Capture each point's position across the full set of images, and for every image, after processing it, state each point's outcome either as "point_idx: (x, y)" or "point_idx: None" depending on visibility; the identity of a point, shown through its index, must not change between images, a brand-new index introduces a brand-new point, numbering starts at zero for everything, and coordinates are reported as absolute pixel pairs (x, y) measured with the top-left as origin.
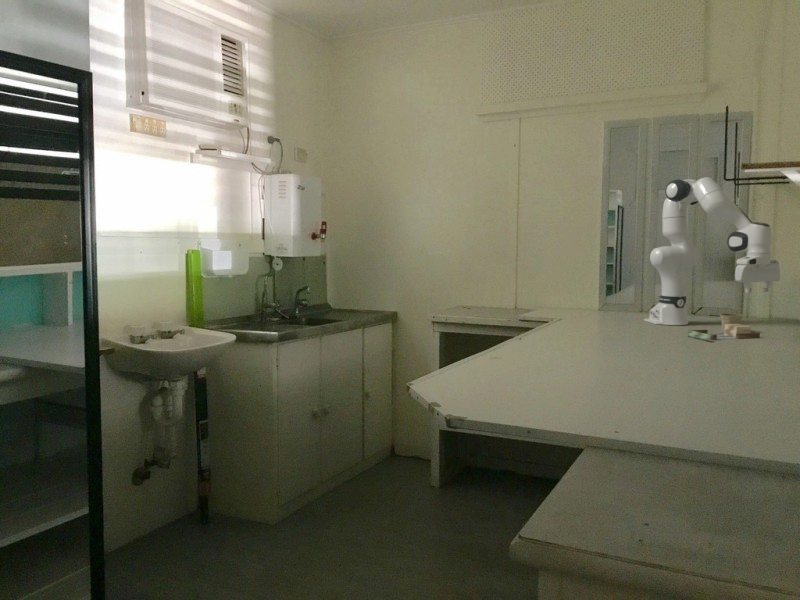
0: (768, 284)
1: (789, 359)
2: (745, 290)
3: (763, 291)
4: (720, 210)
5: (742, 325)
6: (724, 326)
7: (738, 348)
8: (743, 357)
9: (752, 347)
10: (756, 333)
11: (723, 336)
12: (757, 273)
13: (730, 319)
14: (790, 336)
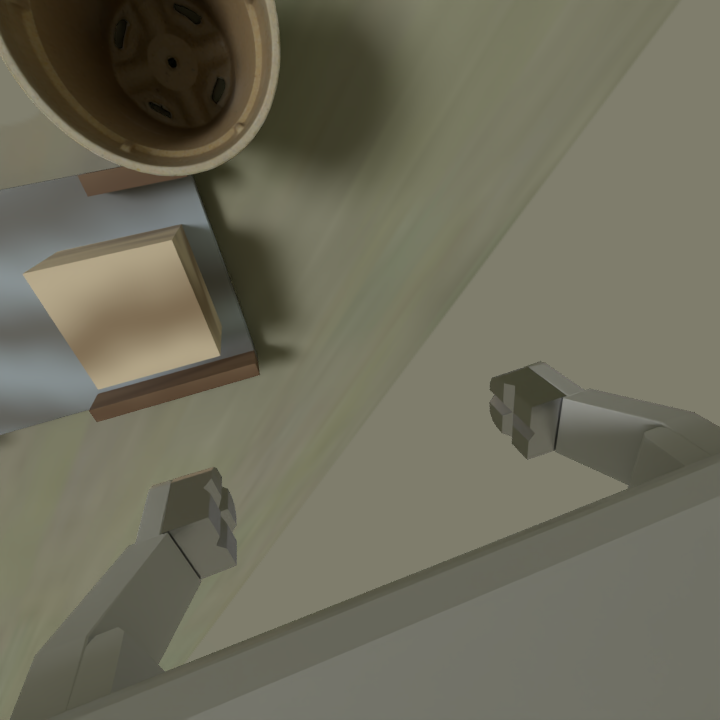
0: (633, 461)
1: (171, 667)
2: (146, 504)
3: (494, 380)
4: None
5: (170, 326)
6: (88, 74)
7: (48, 565)
8: (17, 689)
9: (127, 534)
10: (236, 380)
11: (29, 329)
12: None
13: (112, 141)
14: (493, 231)
